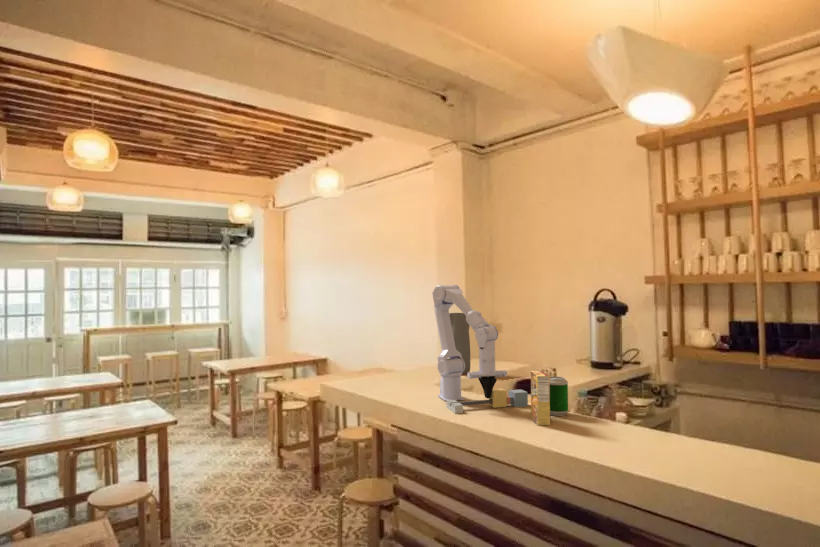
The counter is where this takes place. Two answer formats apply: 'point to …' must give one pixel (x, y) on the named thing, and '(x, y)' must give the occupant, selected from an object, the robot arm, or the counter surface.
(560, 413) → the soda can
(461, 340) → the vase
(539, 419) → the candy box
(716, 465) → the counter surface
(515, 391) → the block
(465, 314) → the robot arm
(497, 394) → the sleeve
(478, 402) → the red-tipped gray rod
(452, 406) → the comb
